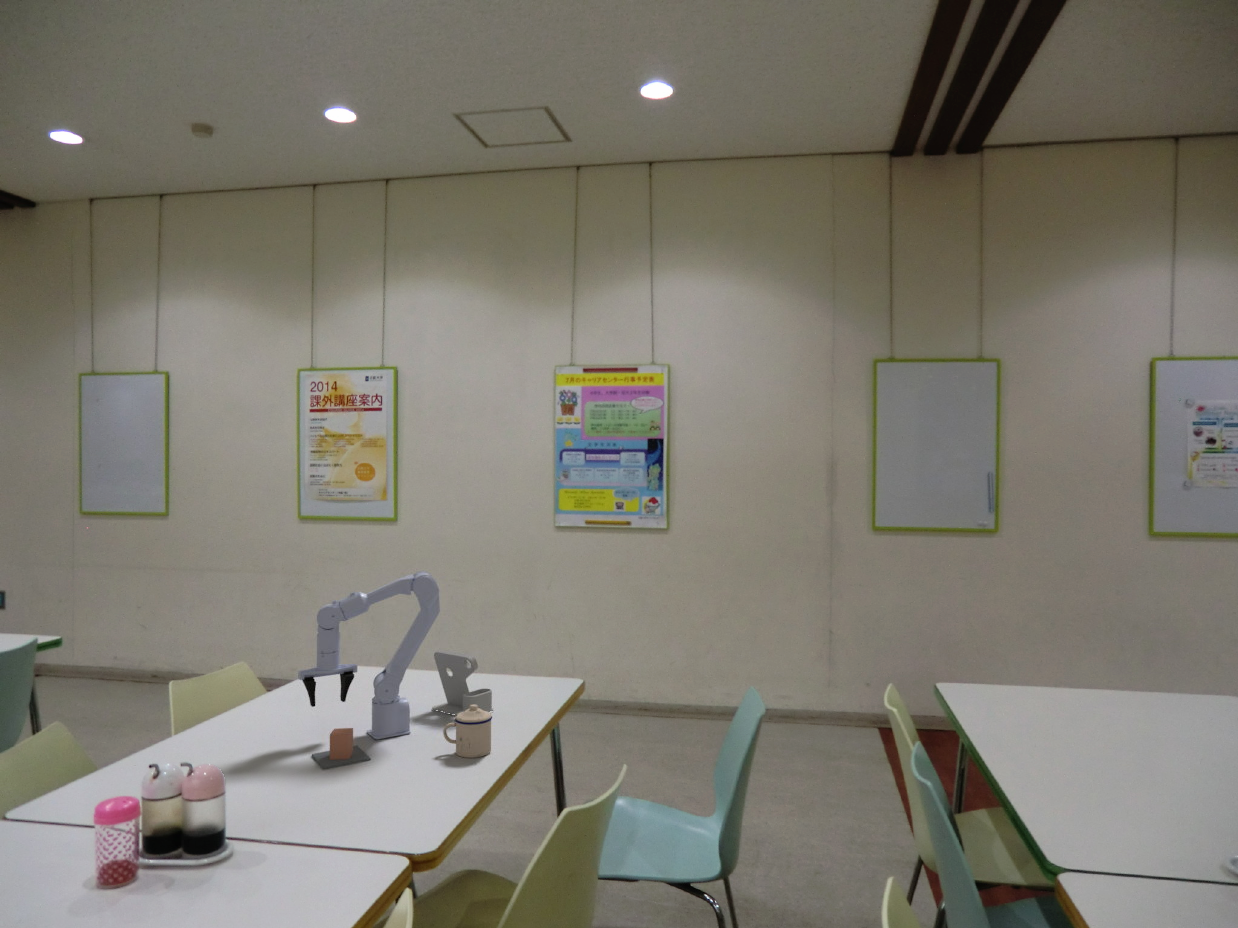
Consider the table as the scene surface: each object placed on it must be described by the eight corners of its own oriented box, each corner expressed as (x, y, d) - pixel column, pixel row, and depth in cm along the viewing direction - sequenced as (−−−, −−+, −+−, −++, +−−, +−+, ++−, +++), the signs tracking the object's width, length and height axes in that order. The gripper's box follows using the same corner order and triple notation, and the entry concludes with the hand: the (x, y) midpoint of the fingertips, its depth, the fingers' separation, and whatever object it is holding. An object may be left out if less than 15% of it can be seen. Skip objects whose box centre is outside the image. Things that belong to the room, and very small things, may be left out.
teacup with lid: (493, 745, 199) (494, 699, 200) (489, 758, 190) (490, 710, 190) (446, 746, 199) (446, 700, 199) (440, 759, 190) (440, 710, 190)
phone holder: (496, 711, 229) (496, 650, 230) (470, 720, 221) (471, 656, 221) (455, 702, 239) (455, 643, 240) (429, 709, 231) (429, 648, 231)
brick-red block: (352, 752, 193) (353, 727, 193) (348, 758, 188) (349, 733, 189) (334, 753, 192) (334, 728, 193) (329, 759, 188) (329, 734, 188)
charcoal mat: (357, 747, 198) (357, 745, 198) (370, 759, 189) (370, 757, 189) (311, 755, 192) (311, 753, 192) (323, 769, 183) (323, 767, 183)
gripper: (352, 645, 212) (351, 695, 212) (295, 651, 204) (295, 704, 204) (359, 649, 206) (359, 701, 206) (302, 656, 198) (301, 710, 198)
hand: (328, 703), depth 204 cm, fingers open, 7 cm apart
